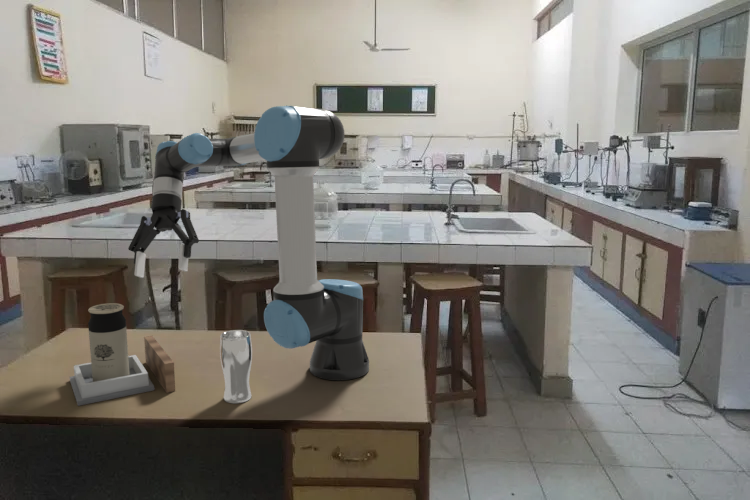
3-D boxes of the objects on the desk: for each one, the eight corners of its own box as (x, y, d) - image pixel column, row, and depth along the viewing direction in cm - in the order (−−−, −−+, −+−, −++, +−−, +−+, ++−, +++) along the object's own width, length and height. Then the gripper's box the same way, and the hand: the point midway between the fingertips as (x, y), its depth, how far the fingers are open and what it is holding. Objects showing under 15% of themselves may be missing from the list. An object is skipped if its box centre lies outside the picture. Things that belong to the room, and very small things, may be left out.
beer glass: (233, 389, 138) (231, 327, 135) (259, 394, 135) (257, 331, 132) (215, 401, 131) (212, 337, 128) (241, 406, 129) (239, 341, 126)
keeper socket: (154, 390, 137) (153, 373, 136) (77, 405, 128) (76, 388, 127) (140, 367, 150) (139, 352, 149) (69, 380, 141) (68, 364, 141)
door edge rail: (175, 390, 136) (173, 362, 135) (166, 392, 135) (164, 364, 134) (153, 361, 155) (152, 335, 153) (145, 362, 153) (144, 336, 152)
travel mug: (106, 373, 144) (101, 302, 140) (136, 375, 142) (131, 303, 139) (85, 386, 136) (79, 311, 133) (117, 389, 135) (111, 313, 131)
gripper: (215, 195, 158) (210, 271, 151) (138, 209, 165) (131, 282, 159) (198, 184, 151) (192, 263, 145) (119, 199, 159) (111, 275, 152)
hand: (160, 273), depth 152 cm, fingers open, 13 cm apart
